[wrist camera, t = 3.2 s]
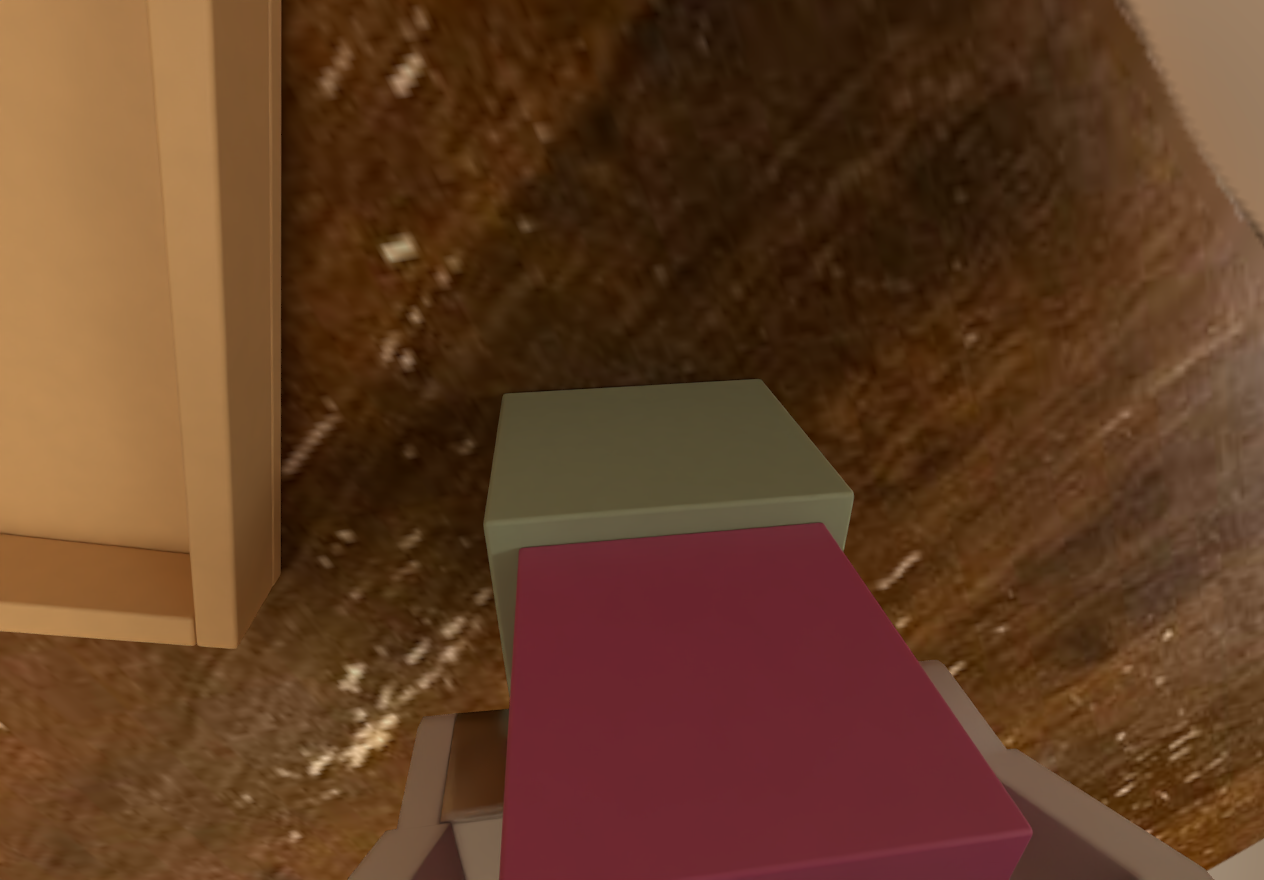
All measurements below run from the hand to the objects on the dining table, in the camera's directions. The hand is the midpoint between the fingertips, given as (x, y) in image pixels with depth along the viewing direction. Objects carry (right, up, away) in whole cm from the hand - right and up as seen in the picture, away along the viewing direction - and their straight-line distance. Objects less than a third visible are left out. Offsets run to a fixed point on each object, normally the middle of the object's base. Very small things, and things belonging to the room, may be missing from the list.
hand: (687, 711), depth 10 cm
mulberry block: (0, +1, +1) cm, 1 cm away
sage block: (-1, +3, +6) cm, 6 cm away
